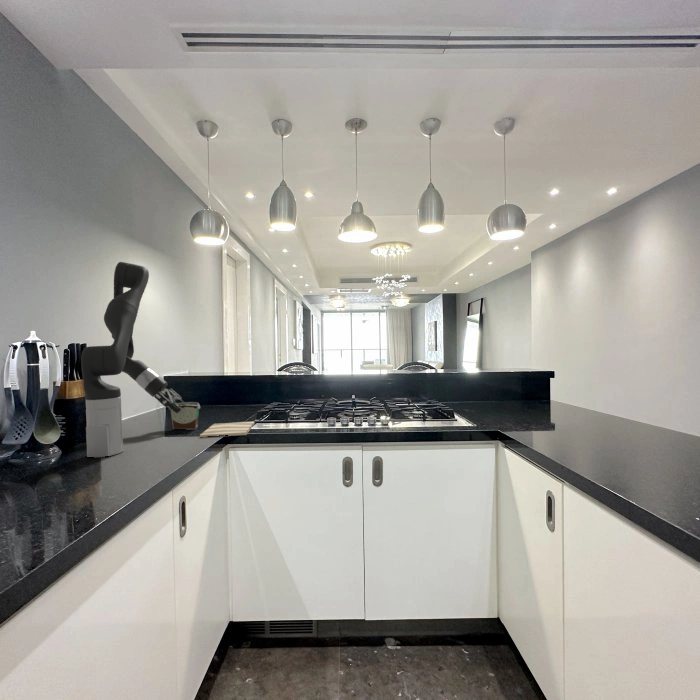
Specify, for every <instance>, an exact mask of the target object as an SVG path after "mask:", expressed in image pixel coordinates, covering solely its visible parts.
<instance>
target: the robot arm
mask: <svg viewBox="0 0 700 700" xmlns="http://www.w3.org/2000/svg"><path fill="white" fill-rule="evenodd" d="M149 279H150V273H149V270H148V268H147V267H145V266H142V265H139V264H134V263H129V262H126V261H125V262H124V261H119V262H118V263H117V264H116V266H115V267H114V273H113V298H112V299H111V300H110V301H109V302H108V304H107V307H106V309H105V313H104V315H103V322H104V325H105V327H106V328H107V330H108V331H109V333H110V334H111V338H112V339H113V343H112V344H111V345H93V346H92V345H90V346H87V347H85V348H84V349H83V350H82V352H81V355H80V363H81V374H82V383H83V384H82V386H83V391H84V395H85V408H86V409H85V416H86V417H85V418H86V419H85V421H86V427H85V433H86V434H85V437H86V456H87V457H94V458H106V457H105V456H109V457H110V456H114V455H118V454H120V453H122V452H124V435H123V419H122V417H123V416H122V397H121V395H122V393H121V388H120V387H118V386H114V385H112V384H109V383H107V382H105V381H104V380H102V378H101V377H104V376H118V375H119V374H121V373H125V374H126V375H128V376H129V377H130V378H131V379H133V380H134V381H135V382H136V383H137V385H139V386H140V388H142V389H143V390H144V391H145V392H147V393H148V394H149V395H150V396H151V397H152V398H155V399H156V400H157V401H158V402H159V403H160V404H161V405H163V407H164V408H169V407H170V408H171V409H172V410H173V411H174V412H176V413H178V412H179V411H180V410H181V408H180V407H178V406H177V405H176V404H175V403H183V402H184V400H183V399H182V396H181V395H180V394H179V393H177V392H176V391H175V390H174V389H173V388H169V389H168V388H167V386H168V382H167V381H166V380H165V379H163V378H162V376H160V375H159V374H158V373H157V372H156V371H154V370H153V369H151V368H150V367H148V366H147V364H145V363H144V362H143V361H142V360H139V359H138V360H137V359H132V358H133V357H134V352H135V349H134V348H135V347H134V339H133V332H134V327H135V323H136V321H137V320H136V319H137V317H138V311H139V309H140V304H141V300H142V298H143V295H144V293H145V291H146V288H147V285H148V283H149ZM124 288H128V289H129V290H126V291H125V292H124Z"/></svg>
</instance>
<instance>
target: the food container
mask: <svg viewBox="0 0 700 700" xmlns="http://www.w3.org/2000/svg"><path fill="white" fill-rule="evenodd" d="M174 403H175V402H174ZM175 404H176V405H177V406H178V407H180V408H181V410H180V411H179V412H178V413H176V412H174V411H173V410H172V409H171V408H170V407H168V410H170V415H171V422H172V423H171V424H172V429H186V430H197V429H198V428H199V426H198V423H199V412H200V411H199V410H200V409H201V405H200V403H199V402H197V401H186V402H185V401H183V403H175Z"/></svg>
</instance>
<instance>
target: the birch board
mask: <svg viewBox="0 0 700 700" xmlns="http://www.w3.org/2000/svg"><path fill="white" fill-rule="evenodd" d="M254 425H255V421H239V422H238V421H236V422H225V423H223V422H222V423H221V422H220V423H213V424H211V425H210V426H209V427H208V428H207V429H206V430H204V431H203V432H202V433H200V434H199V438H200V437H203V438H207V437H206V436H219V435H228V436H227V437H231V436H233V437H235V436H236V437H237V436H247V435H248V433H250V431H251V429H252V428H253V427H254ZM252 426H253V427H252Z"/></svg>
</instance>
